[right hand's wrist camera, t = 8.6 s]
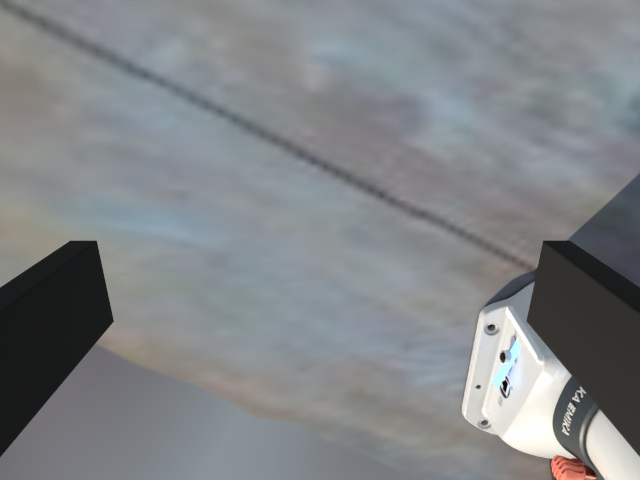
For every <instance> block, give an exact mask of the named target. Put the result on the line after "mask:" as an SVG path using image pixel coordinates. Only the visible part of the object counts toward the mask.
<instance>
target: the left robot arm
mask: <svg viewBox="0 0 640 480" xmlns="http://www.w3.org/2000/svg"><path fill="white" fill-rule="evenodd" d="M534 283H535V281H534V282H533V283H531V284H529V285H528V286H526V287H525V288H523V289H522V290H521V291H519V292H518V293H516V294H515V295H513V296H512V297H510V298H508V299H505V300H501V301H498V302H495V303H492V304H490V305H488V306H486V307H484V308H483V309H482V310H481V312H480V314H479V319H478V324H477V329H476V335H475V340H474V345H473V351H472V356H471V361H470V367H469V372H468V377H467V383H466V388H465V393H464V399H463V404H462V413H463V415H464V416H465V418H466V419H467V420H468V421H469V422H470V423H472V424H473V425H474V426H476V427H478V428H480V429H482V430H484V431H486V432H489V433H492V434H495V435H499V436H500V438H502V439H503V440H504V441H505V442H506V443H507V444H509V445H510V446H512V447H513V448H515V449H518V450H520V451H522V452H525V453H528V454H531V455H535V456H539V457H545V458H551V459H550V467H551V473H552V478H553V480H585V478H591V479H595V480H640V457H639V456H638V454H637V453H636V452H635V451H634V450H633V448H632V447H631V446H630V445H629V444H628V442H627V441H626V440H625V439H624V438H623V436H622V435H621V434H620V433H619V432H618V430H617V429H616V428H615V427H614V426H613V424H612V423H611V422H610V421H609V420H608V418H607V417H606V416H605V415H604V414H603V412H602V411H601V410H600V409H599V408H598V406H597V405H596V404H595V403H594V402H593V400H592V399H591V398H590V397H589V396H588V394H587V393H586V392H585V391H584V390H583V389H582V387H581V386H580V385H579V384H578V383H577V381H576V380H575V379H574V378H573V377H572V375H571V374H570V373H569V372H568V371H567V369H566V368H565V367H564V366H563V365H562V363H561V362H560V361H559V360H558V359H557V357H556V356H555V355H554V354H553V353H552V351H551V350H550V349H549V348H548V347H547V345H546V344H545V343H544V342H543V341H542V339H541V338H540V337H539V336H538V335H537V333H536V332H535V331H534V330H533V329H532V327H531V326H530V325H529V324H528V323H527V322H526V321H527V316H528V311H529V307H530V302H531V297H532V292H533V288H534ZM491 324H493V325H492V326H491V327H488V326H489V325H491ZM483 420H484V421H483ZM582 462H583V463H584V465H583V464H582Z"/></svg>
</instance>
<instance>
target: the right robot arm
mask: <svg viewBox="0 0 640 480" xmlns="http://www.w3.org/2000/svg"><path fill="white" fill-rule="evenodd" d="M113 322H114V321H113V316H112V311H111V307H110V302H109V297H108V292H107V288H106V283H105V278H104V273H103V269H102V264H101V259H100V254H99V250H98V245H97V241H69V242H68V243H66V244H65V245H63V246H62V247H60V248H59V249H57V250H56V251H54V252H53V253H51V254H50V255H48V256H47V257H45V258H44V259H42V260H41V261H39V262H38V263H36V264H35V265H33V266H32V267H30V268H29V269H27V270H26V271H24V272H23V273H21V274H20V275H18V276H17V277H15V278H14V279H12V280H11V281H9V282H8V283H6V284H5V285H3V286H2V287H0V457H1V456H2V454H3V453H4V452H5V451H6V449H7V448H8V447H9V446H10V445H11V444H12V442H13V441H14V440H15V439H16V438H17V436H18V435H19V434H20V433H21V432H22V430H23V429H24V428H25V427H26V426H27V424H28V423H29V422H30V421H31V420H32V418H33V417H34V416H35V415H36V414H37V412H38V411H39V410H40V409H41V408H42V406H43V405H44V404H45V403H46V402H47V400H48V399H49V398H50V397H51V396H52V394H53V393H54V392H55V391H56V390H57V389H58V387H59V386H60V385H61V384H62V383H63V381H64V380H65V379H66V378H67V377H68V375H69V374H70V373H71V372H72V371H73V369H74V368H75V367H76V366H77V365H78V363H79V362H80V361H81V360H82V359H83V357H84V356H85V355H86V354H87V353H88V351H89V350H90V349H91V348H92V347H93V345H94V344H95V343H96V342H97V341H98V339H99V338H100V337H101V336H102V335H103V333H104V332H105V331H106V330H107V329H108V327H109V326H110V325H111V324H112V323H113ZM526 322H527V323H528V324H529V325H530V326H531V327H532V329H533V330H534V331H535V332H536V333H537V335H538V336H539V337H540V338H541V339H542V341H543V342H544V343H545V344H546V345H547V347H548V348H549V349H550V350H551V351H552V353H553V354H554V355H555V356H556V357H557V359H558V360H559V361H560V362H561V363H562V365H563V366H564V367H565V368H566V369H567V371H568V372H569V373H570V374H571V375H572V377H573V378H574V379H575V380H576V381H577V383H578V384H579V385H580V386H581V387H582V389H583V390H584V391H585V392H586V393H587V394H588V396H589V397H590V398H591V399H592V400H593V402H594V403H595V404H596V405H597V406H598V408H599V409H600V410H601V411H602V412H603V414H604V415H605V416H606V417H607V418H608V420H609V421H610V422H611V423H612V424H613V426H614V427H615V428H616V429H617V430H618V432H619V433H620V434H621V435H622V436H623V438H624V439H625V440H626V441H627V442H628V444H629V445H630V446H631V447H632V448H633V450H634V451H635V452H636V453H637V454H638V456H639V457H640V287H638V286H637V285H635V284H634V283H632V282H631V281H629V280H628V279H626V278H625V277H623V276H622V275H620V274H619V273H617V272H616V271H614V270H613V269H611V268H610V267H608V266H607V265H605V264H604V263H602V262H601V261H599V260H598V259H596V258H595V257H593V256H592V255H590V254H589V253H587V252H586V251H584V250H583V249H581V248H580V247H578V246H577V245H575V244H574V243H572V242H571V241H543V245H542V250H541V254H540V259H539V264H538V269H537V273H536V278H535V283H534V288H533V292H532V297H531V302H530V307H529V311H528V316H527V321H526Z"/></svg>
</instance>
